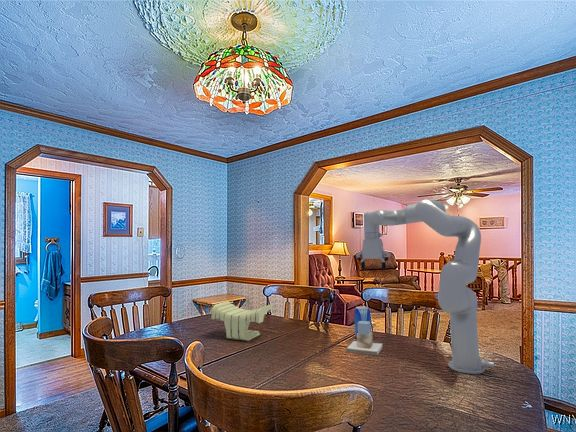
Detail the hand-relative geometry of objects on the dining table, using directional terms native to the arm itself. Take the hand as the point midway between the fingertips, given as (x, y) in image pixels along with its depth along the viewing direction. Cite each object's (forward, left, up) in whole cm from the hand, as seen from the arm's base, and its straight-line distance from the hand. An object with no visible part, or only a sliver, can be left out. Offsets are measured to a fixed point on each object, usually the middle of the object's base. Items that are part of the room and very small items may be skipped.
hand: (373, 270), depth 165 cm
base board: (+4, +9, -36) cm, 38 cm away
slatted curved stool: (+71, +12, -36) cm, 81 cm away
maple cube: (+4, +9, -35) cm, 36 cm away
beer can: (+9, -9, -36) cm, 39 cm away
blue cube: (+4, +9, -29) cm, 30 cm away
